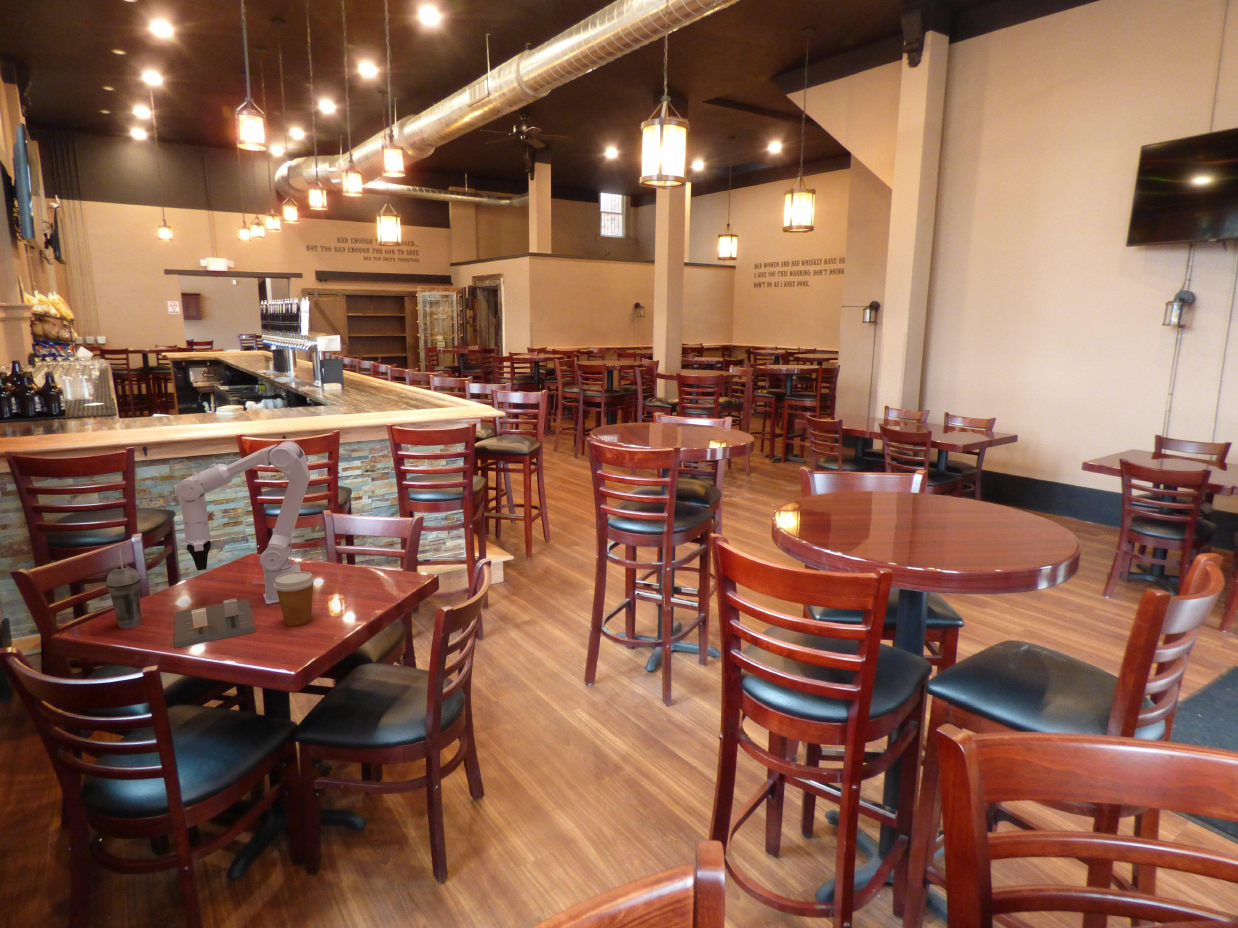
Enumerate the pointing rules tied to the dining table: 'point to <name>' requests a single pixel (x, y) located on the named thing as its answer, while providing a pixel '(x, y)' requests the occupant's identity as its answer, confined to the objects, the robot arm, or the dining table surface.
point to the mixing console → (213, 624)
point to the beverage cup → (125, 595)
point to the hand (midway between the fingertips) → (201, 569)
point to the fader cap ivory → (199, 617)
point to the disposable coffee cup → (295, 597)
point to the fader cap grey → (230, 607)
